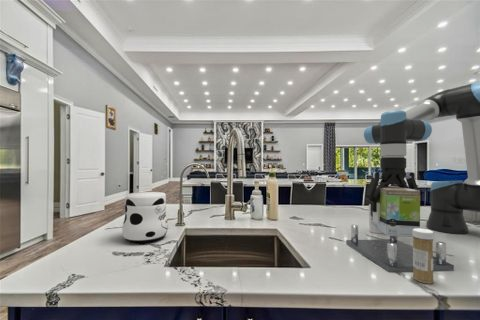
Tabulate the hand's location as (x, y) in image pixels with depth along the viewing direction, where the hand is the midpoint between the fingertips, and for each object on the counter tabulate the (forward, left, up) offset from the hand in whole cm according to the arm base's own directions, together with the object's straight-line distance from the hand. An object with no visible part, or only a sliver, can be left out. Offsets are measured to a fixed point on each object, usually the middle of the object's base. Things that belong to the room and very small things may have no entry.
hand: (392, 221), depth 83 cm
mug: (-14, -27, -12) cm, 33 cm away
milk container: (+89, -23, -12) cm, 93 cm away
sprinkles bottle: (+4, +17, -12) cm, 21 cm away
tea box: (0, 0, -3) cm, 3 cm away
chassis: (0, 0, -12) cm, 12 cm away
